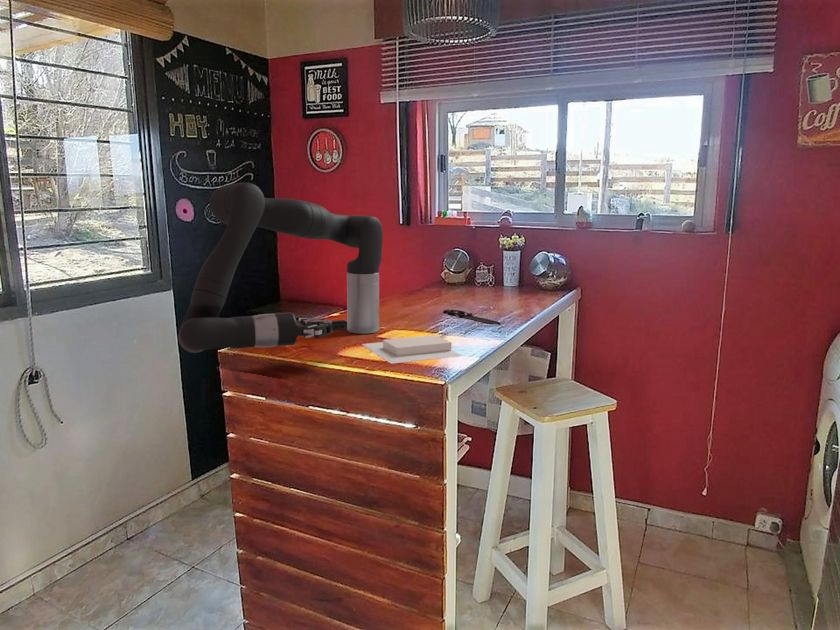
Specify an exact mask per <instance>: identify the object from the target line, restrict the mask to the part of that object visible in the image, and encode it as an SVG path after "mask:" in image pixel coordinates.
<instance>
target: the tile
mask: <svg viewBox="0 0 840 630" xmlns="http://www.w3.org/2000/svg"><path fill="white" fill-rule="evenodd" d="M382 342H383V348H385V349H386V350H388V351H389V352H391V353H393V354H394V355H396V356H402V355H411V354H421V353H430V352H440V351H449V350H452V342H451V341H449V340H447V339H445V338H443V337H440V336H439V335H436V334H434V335H433V334H432V335H420V336H411V337H401V338H400V337H399V338H390V339H389V338H387V339H383V340H382Z"/></svg>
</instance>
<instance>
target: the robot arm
mask: <svg viewBox="0 0 840 630" xmlns="http://www.w3.org/2000/svg"><path fill="white" fill-rule="evenodd" d="M209 209H210V211H211V213H212V215H213V216H214V218H216V219H217V220H218V221H220V222H221V223H223V224H224V225H226V228H225V230H224V232H223V234H222V236H221V238H220V239H219V242H217V244H216V245H215V247H214V249H213V250H212V252H211V253H210V254H209V255H208V256H207V258H206V260H205V261H204V263H203V265H202V267H201V268H200V270H199V273H198V276H197V278H196V281H195V284H194V286H193V291H192V293H191V298H190V303H189V306H188V308H187V311H186V313H185V315H184V318H183V320H182V322H181V323H182V324H180V328H179V331H178V334H177V339H178V343H179V345H180V346H181V348H182V349H183V350H185V351H187V352H188V353H191V354H192V353H193V354H198V353H201V352H203V351H207V350H216V349H225V348H229V349H247V348H249V349H250V348H273V347H285V346H286V347H287V346H294V345H295V344H297V340H298V339H297V338H298V337H303V339H304V338H305V339H309V338H311V337H313V338H315V339H320V338H324V337H325V336H328V335H331V334H332V333H333V332H335V331H337V332H338V331H339V332H340V331H347V332H348V333H353V334H358V335H359V334H360V335H361V334H362V335H366V334H367V335H368V334H374V333H377V332H379V331H380V266H381V263H382V258H383V243H384V242H383V241H384V240H383V239H384V231H383V227H382V226H383V225H382V222H381V221H380V220H379V219H378V218H377V217H375V216H372V215H347V214H346V215H345V214H337V213H333V212H330V211H329V210H328V209H327V208H325V207H323V206H322V205H320V204H317V203H314V202H310V201H305V200H300V199H293V198H278V197H277V198H276V197H275V198H274V197H265V195H264V193H263V191H262V189H260V187H259V186H257V185H256V184H254V183H252V182H237V183H230V184H225V185H223V186H220V187H218V188H217V189H215V191H213V192H212V194H211V195H210V198H209ZM257 228H262V229H265V230H270V231H272V232H273V231H274V232H276V233H280V234H285V235H289V236H293V237H297V238H302V239H309V240H316V241H317V240H318V241H319V240H328V241H332V242H336V243H339V244H342V245H345V246H347V247H349V248H354V249H358V253H357V254H358V255H357V257H356V258H355V259H352V260H349V261H348V262H347V264H346V295H347V296H346V306H347V307H346V310H347V311H346V312H347V314H346V316H347V319H346V320H345V319H337V320H335V319H334V320H331V319H326V318H320V317H319V318H318V317H306V316H303V317H301V318H300V319H298V320H297V318H296V316H295V314H294V313H293V312H290V311H289V312H277V313H275V312H274V313H263V314H262V313H259V314H257V315H256V314H255V315H245V316H232V317H219V316H220V313H221V311H222V309H223V307H224V305H225V303H226V301H227V300H226V299H227V296H228V294H229V290H230V287H231V285H232V281H233V280H234V275H235V273H236V270H237V268H238V265H239V263H240V261H241V258H242V257H243V255H244V253H245V250H246V249H247V247H248V244H249V242H250V241H251V239H252V237H253V234H254V233H255V231H256V229H257Z"/></svg>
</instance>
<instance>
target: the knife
mask: <svg viewBox="0 0 840 630" xmlns="http://www.w3.org/2000/svg"><path fill="white" fill-rule="evenodd" d="M442 313H443V314H447V315H449V316H452V317H455V316H457V318H460V319H461V318H462V319H469V320H474V321H478V322H483V323H485V324H494V325H496V324H498V325H501V322H499V321H497V320H494V319H488V318H484V317H480V316H474V315H473V314H474V313H473V312H466V311H463V310H457V309H452V308H451V309H444V310H443V311H442Z"/></svg>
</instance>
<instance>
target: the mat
mask: <svg viewBox="0 0 840 630" xmlns="http://www.w3.org/2000/svg"><path fill="white" fill-rule="evenodd" d="M361 345H362V347H365V348H366V349H368V350H370V351H371V352H372V353H374V354H376V355H377V356H378V357H381V358H382V359H383V360H385V362H387V363H389V364H392V365H393V364H400V363H401V364H402V363H410V362H419V361H420V362H421V361H428V360H437V359H439V360H440V359H446V358H456V357H463V355H462V354H460V353H458V352H456V351H454V350H452V349H451V350H449V351H440V352H430V353H421V354H411V355H402V356H396V355H394V354H393V353H391V352H389V351H388V350H386V349H385V348H383V341H381V342H371V343H370V342H369V343H361Z"/></svg>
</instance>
